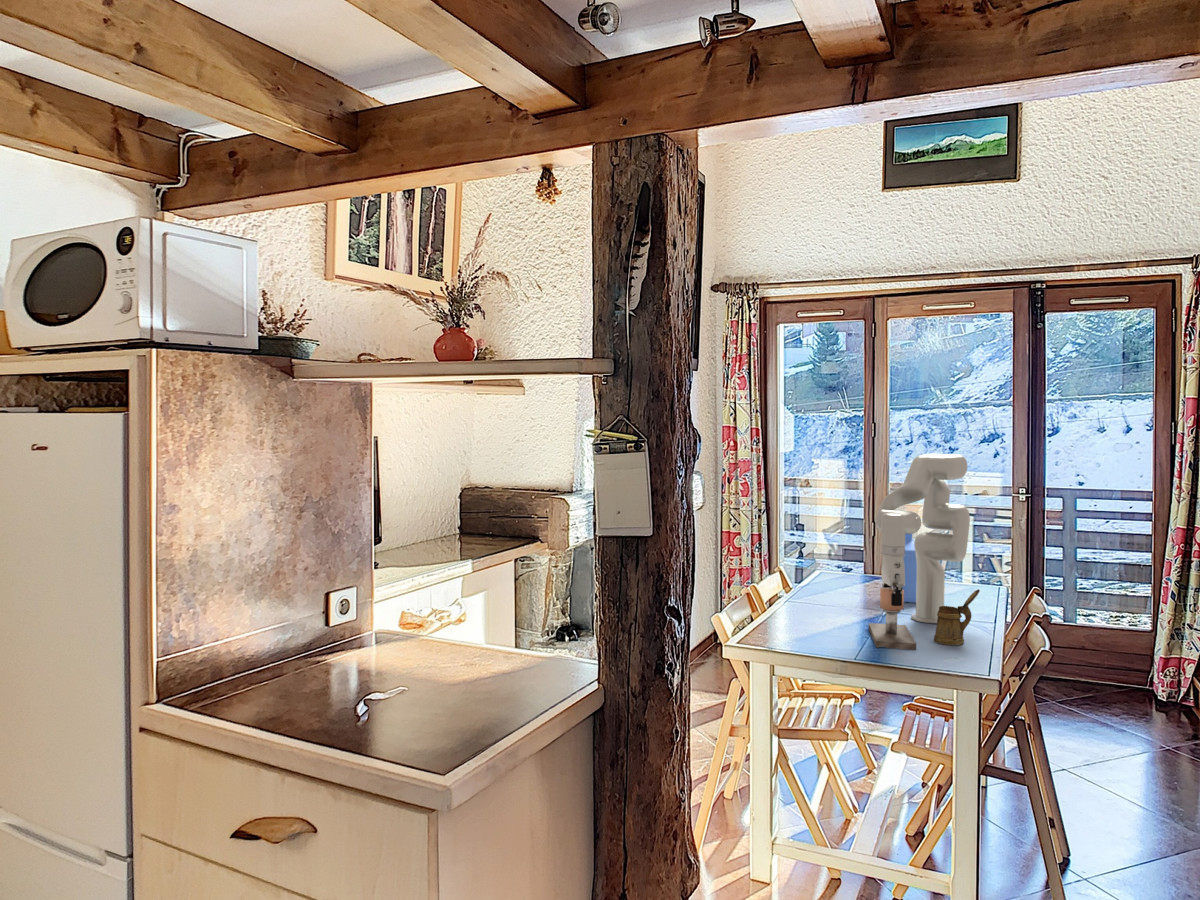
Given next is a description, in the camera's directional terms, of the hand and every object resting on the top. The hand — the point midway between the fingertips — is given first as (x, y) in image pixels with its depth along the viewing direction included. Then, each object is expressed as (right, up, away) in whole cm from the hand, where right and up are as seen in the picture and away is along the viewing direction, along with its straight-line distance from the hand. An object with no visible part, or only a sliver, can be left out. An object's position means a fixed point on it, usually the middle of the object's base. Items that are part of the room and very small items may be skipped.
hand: (891, 602), depth 276 cm
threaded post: (0, -10, 0) cm, 10 cm away
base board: (0, -12, 0) cm, 12 cm away
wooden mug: (+20, -13, -4) cm, 24 cm away
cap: (0, -2, 0) cm, 2 cm away
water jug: (+28, -10, +62) cm, 69 cm away
